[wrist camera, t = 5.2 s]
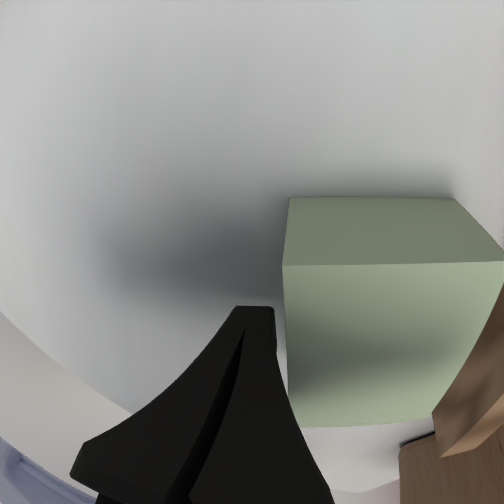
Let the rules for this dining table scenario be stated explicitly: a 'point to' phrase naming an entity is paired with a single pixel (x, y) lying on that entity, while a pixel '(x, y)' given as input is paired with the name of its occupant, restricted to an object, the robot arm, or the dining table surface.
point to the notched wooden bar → (474, 392)
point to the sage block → (381, 304)
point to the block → (452, 473)
